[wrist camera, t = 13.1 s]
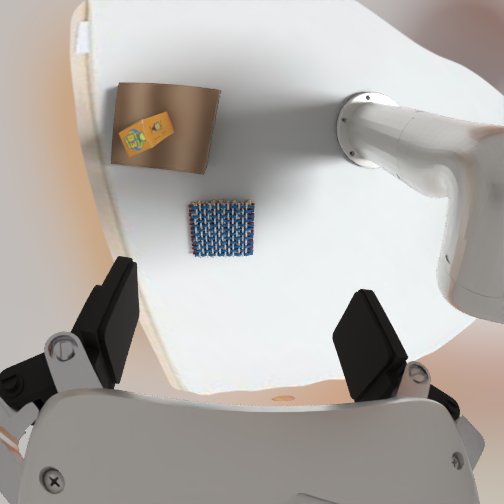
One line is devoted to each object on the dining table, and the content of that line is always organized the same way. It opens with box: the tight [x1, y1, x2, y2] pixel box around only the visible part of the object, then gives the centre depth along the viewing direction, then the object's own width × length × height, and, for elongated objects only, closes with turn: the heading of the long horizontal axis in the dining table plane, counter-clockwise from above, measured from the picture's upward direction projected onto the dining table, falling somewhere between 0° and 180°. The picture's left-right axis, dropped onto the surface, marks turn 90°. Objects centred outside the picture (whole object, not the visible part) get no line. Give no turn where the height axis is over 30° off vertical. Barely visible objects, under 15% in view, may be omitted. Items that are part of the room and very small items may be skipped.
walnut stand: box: [111, 83, 221, 174], centre depth 35 cm, size 14×12×4 cm
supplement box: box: [119, 111, 174, 157], centre depth 29 cm, size 3×4×10 cm
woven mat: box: [189, 200, 255, 258], centre depth 46 cm, size 10×11×2 cm
